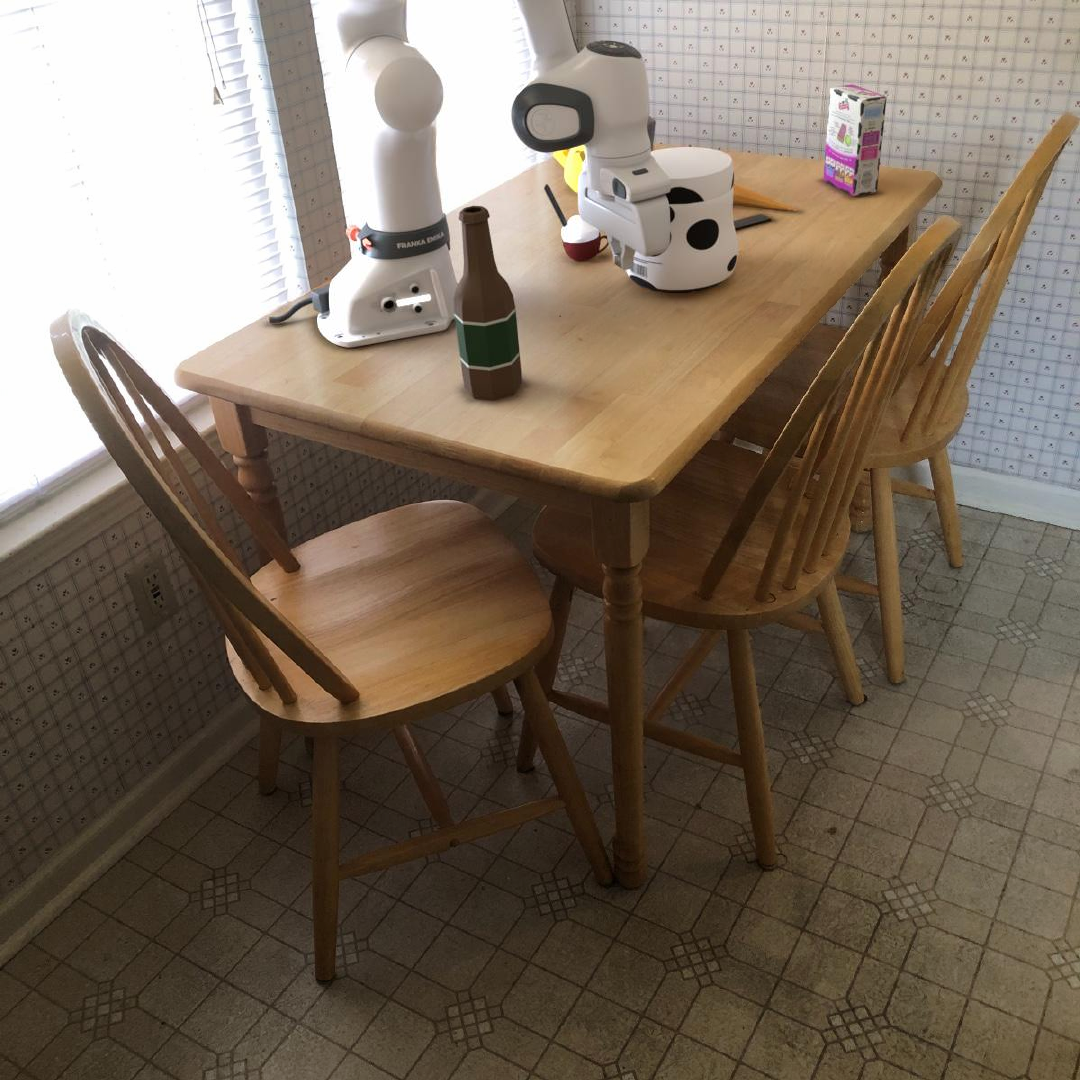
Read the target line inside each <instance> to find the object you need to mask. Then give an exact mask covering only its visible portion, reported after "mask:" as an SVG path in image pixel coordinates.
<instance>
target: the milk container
mask: <svg viewBox="0 0 1080 1080" xmlns="http://www.w3.org/2000/svg"><path fill="white" fill-rule="evenodd" d="M651 155H652V156H653V157H654V158H655V160H656V162H657V164H658V165H659V166H660V168H661V169H662V170H663V171H664V172H665V173H666V174H667V175H668V177H669V178H670V182H671V190H670V192H669V193H666V194H664V195H665V196H666V197H667V199H668V202H669V208H670V243H669V246H668V248H667V250H666V251H665V252H663V253H660V254H657V255H653V256H649V257H645V256H643V255H642V254H640V253H638V252H637V251H636V252H635V255H634V266H633V268H632V269H628V270H625V271H626V274H627V276H628V277H629V279H630V280H631V281H632V282H633V283H635V284H636V285H637V286H638V287H640V288H643V289H647V290H649V291H652V292H656V293H657V292H658V293H664V294H688V293H689V294H691V293H696V292H702V291H703V292H704V291H706V290H708V289H712V288H715V287H717V286H719V285H721V284H722V283H723V282H725V281H726V280H728V279H729V278H730V277H731V276H732V275H733V273H734V271H735V269H736V266H737V261H738V255H739V240H738V235H737V232H736V231H737V230H735V227H734V222H733V221H734V212H733V211H734V210H733V209H734V204H733V195H734V189H733V184H735V183H734V182H735V170H734V169H735V168H734V162H733V159H732V158H731V157H732V156H731V155H730V154H727V153H726V152H724V151H722V150H717V149H713V148H709V147H697V146H683V147H681V146H679V147H668V148H662V149H655V151H651Z"/></svg>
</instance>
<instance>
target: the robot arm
mask: <svg viewBox="0 0 1080 1080" xmlns="http://www.w3.org/2000/svg"><path fill="white" fill-rule="evenodd" d="M326 1H327V20H328V21H327V23H328V39H329V49H330V72H331V77H332V80H333V83H334V86H335V87H336V90H337V92H338V94H339V95H340V97H341V98H342V99H343V100H344V101H345V103H347V105H349V106H351V107H352V108H353V109H354V110H355V111H356V113H357V117H358V121H359V126H360V127H359V128H360V163H359V164H358V165H359V166H358V175H359V180H360V186H361V192H362V193H361V194H362V199H363V204H364V209H365V215H366V222H365V223H364V226H363V227H362V228H359V226H357V225H356V224H350V225H349V226H347V228H346V229H345V231H346V232H345V234H346V236H347V237H348V239H350V240H351V241H352V242H357V248H358V252H357V253H356V254H355V255H354V256H353V257H352V258H351V259H350V260H349V262H348V263H347V264H346V265H345V266H344V267H343V268H342V269H341V270H340V271H339V272H338V273H337V275H335V276H334V277H333V278H332V280H331V282H330V283H329V284H327V285H324V286H321V287H319V288H316V289H313V290H310V296H309V297H306V298H304V299H301V300H300V301H298V302H297V303H295V304H294V305H292V306H291V307H290V308H289V309H288V310H287V311H286V312H285V313H283V314H281V315H278V316H269V317H268V320H269V321H268V322H269V324H281V323H283V322H285V321H287V320H289V319H290V318H292V316H293V315H295V314H296V313H297V312H298V311H299V310H300V309H302V308H305V307H306V306H308V305H312V307H313V310H314V311H316V312H318V315H317V317H316V318H317V319H316V321H317V328H318V330H319V332H320V333H321V334H322V336H323V337H324V338H325V339H326V340H327V341H329V342H331V343H332V344H334V345H337V346H340V347H343V348H347V349H348V348H349V349H350V348H357V347H361V346H367V345H373V344H379V343H384V342H389V341H393V340H400V339H405V338H411V337H417V336H421V335H422V336H423V335H427V334H433V333H438V332H443V331H445V330H447V329H448V328H449V326H451V322H452V321H453V320H455V315H454V296H455V292H456V287H457V286H458V284H459V282H458V280H457V278H456V274H455V269H454V267H453V263H452V259H451V254H450V253H451V252H450V251H451V234H450V228H449V223H448V219H447V214H446V213H445V212H444V210H443V203H442V196H441V188H440V180H439V172H438V159H437V158H438V157H437V150H438V149H437V148H438V132H439V131H438V129H439V114H440V112H441V110H442V106H443V103H444V86H443V82H442V80H441V77H440V75H439V72H438V71H437V68H436V67H435V65H434V64H433V63H432V61H431V60H430V59H429V57H428V56H427V55H426V54H425V53H424V52H423V51H422V50H420V49H418V48H417V47H415V46H413V45H411V42H410V39H409V33H408V1H409V0H326ZM514 2H515V5H516V8H517V12H518V15H519V18H520V22H521V26H522V28H523V32H524V35H525V39H526V43H527V46H528V49H529V53H530V58H531V66H530V67H531V68H530V75H529V79H527V81H526V82H525V83H524V85H522V87H521V88H520V90H519V91H518V93H517V94H516V97H515V98H514V100H513V103H512V106H511V123H512V127H513V130H514V133H515V134H516V136H517V137H518V139H519V140H520V142H522V143H523V144H524V146H526V147H528V148H529V149H531V150H533V151H535V152H538V153H544V154H547V153H554V152H556V151H562V150H567V149H568V150H571V148H575V147H578V146H581V145H584V146H585V153H586V159H585V160H584V162H583V164H582V169H583V172H581V173H580V175H579V180H578V193H577V209H578V215H580V216H581V219H582V220H584V221H586V222H587V223H589V224H591V225H592V226H594V227H596V228H597V229H599V231H601V232H603V233H604V234H605V235H607V239H606V241H607V240H608V243H609V245H608V246H609V249H610V251H611V253H612V263H613V264H614V265H615V266H617V267H619V268H620V269H622V270H623V271H626V270H628V269H632V268H633V266H634V255H635V252H636V251H637V252H638V253H640V254H642V255H643V256H645V257H649V256H653V255H657V254H660V253H663V252H665V251H666V250H667V248H668V246H669V243H670V208H669V202H668V199H667V197H666V196H665V195H664V194H666V193H669V192H670V190H671V182H670V178H669V177H668V175H667V174H666V173H665V172H664V171H663V170H662V169H661V168H660V166H659V165H658V164H657V162H656V160H655V158H654V157H653V156H652V155H651V143H650V139H649V136H648V132H647V122H648V118H649V116H650V109H651V108H650V91H649V81H648V72H647V67H646V63H645V60H644V58H643V55H642V53H641V52H640V51H639V50H638V49H637V48H636V47H634V46H632V45H630V44H628V43H625V42H622V41H618V40H595V41H592V42H588V43H587V44H586V45H585V46H584V47H583V48H582V49H580V47H579V46H578V43H577V41H576V39H575V35H574V32H573V27H572V24H571V21H570V16H569V12H568V8H567V5H566V1H565V0H514Z"/></svg>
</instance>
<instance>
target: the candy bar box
mask: <svg viewBox="0 0 1080 1080" xmlns="http://www.w3.org/2000/svg"><path fill="white" fill-rule="evenodd" d="M887 99H888V98H887V96H885V95H882V94H880V93H877V92H874V91H872V90H869V89H867V88H863V87H861V86H858V85H856V84H846V85H839V86H834V87H830V88H829V100H828V101H829V102H828V110H827V111H828V113H827V124H826V125H827V126H826V140H825V151H824V166H823V179H822V180H823V181H824V182H826V183H827V184H829V185H831V186H833V187H835V188H837V189H838V190H841V191H842V192H844V193H846V194H848V195H850V196H852V197H861V196H868V195H873V194H876V193H878V186H879V175H880V174H879V173H880V164H881V155H882V147H883V146H882V144H883V137H884V136H883V135H884V127H885V117H886V116H885V115H886V109H887V107H886V106H887Z"/></svg>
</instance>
